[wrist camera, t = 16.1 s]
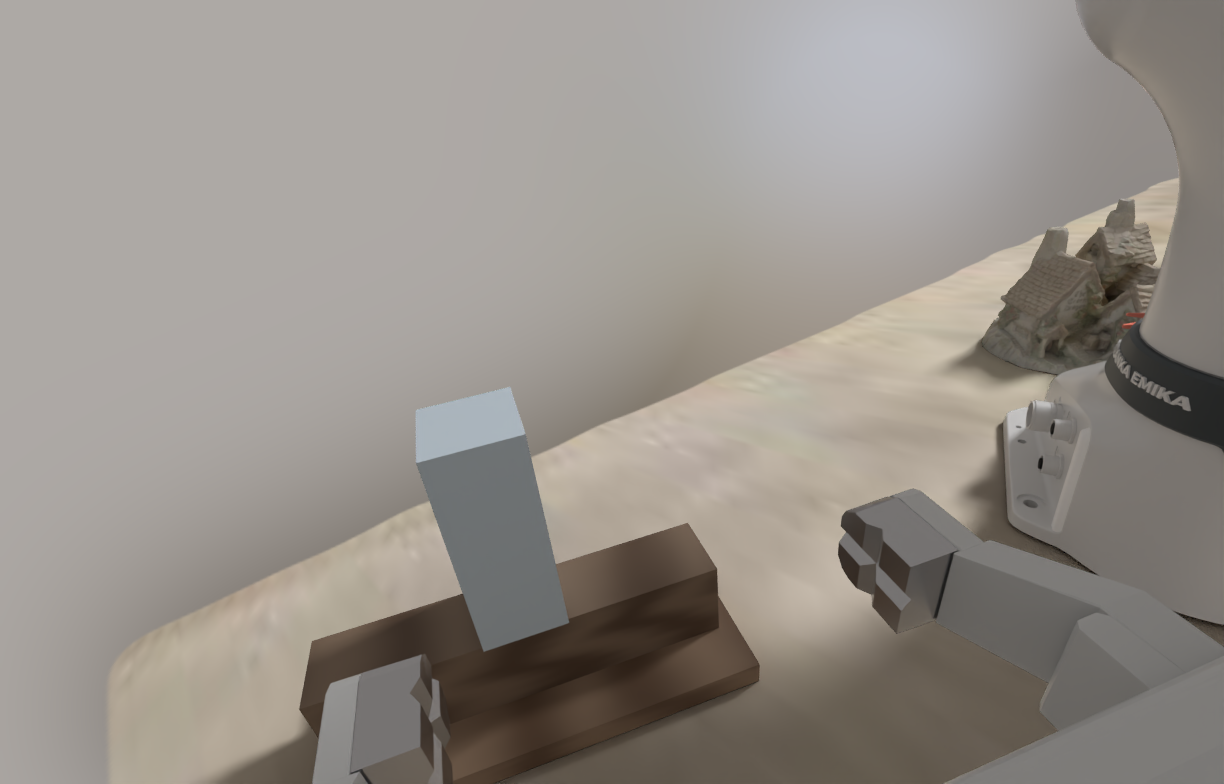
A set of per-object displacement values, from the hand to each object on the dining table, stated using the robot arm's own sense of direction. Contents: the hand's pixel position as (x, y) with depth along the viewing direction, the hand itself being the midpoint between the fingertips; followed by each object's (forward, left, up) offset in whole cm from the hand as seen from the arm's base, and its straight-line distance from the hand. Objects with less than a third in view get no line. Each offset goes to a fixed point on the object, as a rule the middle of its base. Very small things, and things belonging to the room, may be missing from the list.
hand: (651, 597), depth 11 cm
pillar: (-11, -12, -16) cm, 23 cm away
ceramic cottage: (-57, +30, -23) cm, 68 cm away
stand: (-11, -12, -23) cm, 28 cm away
